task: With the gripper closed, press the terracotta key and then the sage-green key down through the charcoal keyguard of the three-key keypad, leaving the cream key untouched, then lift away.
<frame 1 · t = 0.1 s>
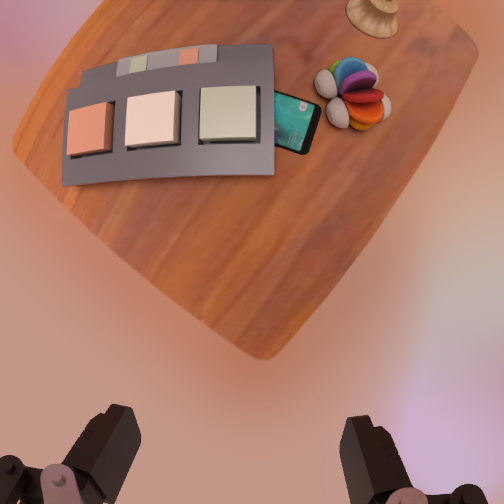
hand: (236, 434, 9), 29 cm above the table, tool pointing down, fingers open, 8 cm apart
keypad: (164, 126, 34), on the table
smartphone: (258, 113, 34), on the table
key terracotta: (90, 129, 31), point 4 cm above the table, slide at 0.0 cm
rainbow petal flower toy: (348, 98, 33), on the table
hand bell: (371, 17, 29), on the table
key cream: (152, 119, 30), point 4 cm above the table, slide at 0.0 cm
key sage: (228, 113, 30), point 4 cm above the table, slide at 0.0 cm
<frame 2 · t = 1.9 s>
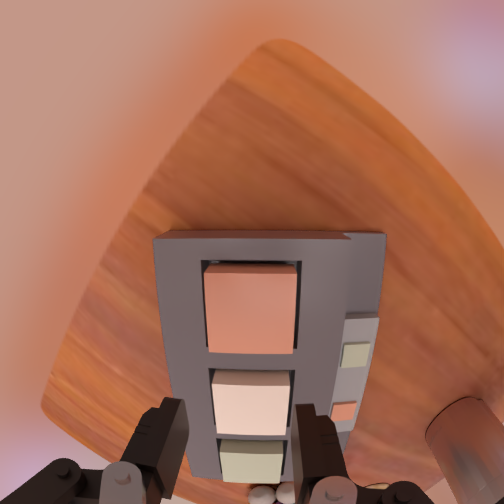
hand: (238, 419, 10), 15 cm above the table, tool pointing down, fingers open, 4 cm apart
keypad: (253, 375, 27), on the table
key terracotta: (251, 308, 21), point 4 cm above the table, slide at 0.0 cm
rainbow petal flower toy: (280, 490, 32), on the table
hand bell: (367, 494, 32), on the table
key cream: (251, 402, 23), point 4 cm above the table, slide at 0.0 cm
key sage: (251, 460, 25), point 4 cm above the table, slide at 0.0 cm
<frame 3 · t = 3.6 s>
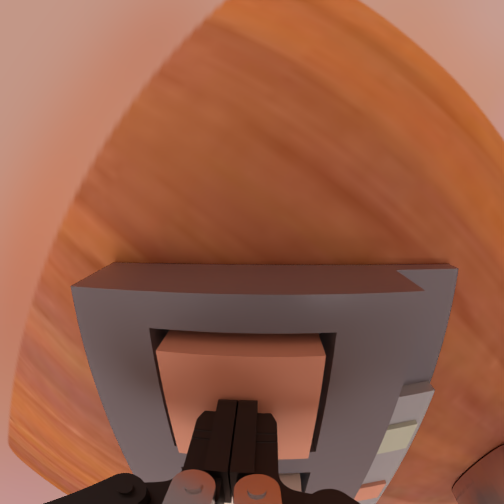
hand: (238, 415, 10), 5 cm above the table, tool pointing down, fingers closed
keypad: (249, 456, 17), on the table
key terracotta: (243, 397, 11), point 4 cm above the table, slide at 0.7 cm, touching gripper
key cream: (245, 502, 13), point 4 cm above the table, slide at 0.0 cm
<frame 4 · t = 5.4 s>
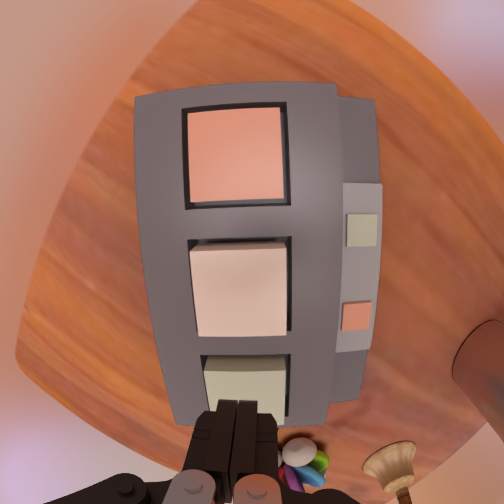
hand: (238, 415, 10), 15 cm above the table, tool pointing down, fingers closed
keypad: (244, 271, 24), on the table
key terracotta: (236, 155, 19), point 3 cm above the table, slide at 1.2 cm
rainbow petal flower toy: (288, 454, 30), on the table
hand bell: (389, 457, 30), on the table
key cream: (240, 289, 20), point 4 cm above the table, slide at 0.0 cm
key sage: (246, 391, 22), point 4 cm above the table, slide at 0.0 cm
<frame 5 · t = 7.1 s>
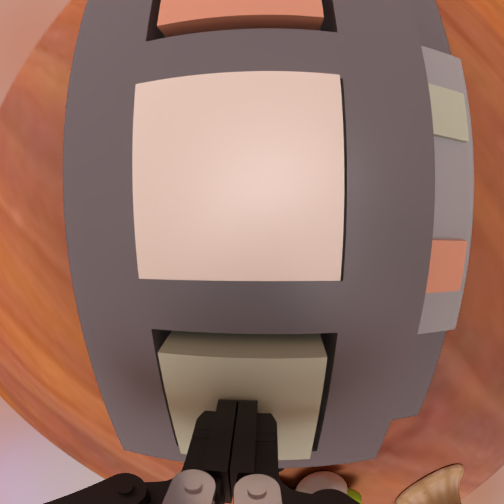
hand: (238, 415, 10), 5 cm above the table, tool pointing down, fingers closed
keypad: (247, 179, 13), on the table
rainbow petal flower toy: (301, 490, 18), on the table
hand bell: (429, 485, 19), on the table
key cream: (238, 175, 9), point 4 cm above the table, slide at 0.0 cm
key sage: (244, 398, 11), point 4 cm above the table, slide at 0.6 cm, touching gripper
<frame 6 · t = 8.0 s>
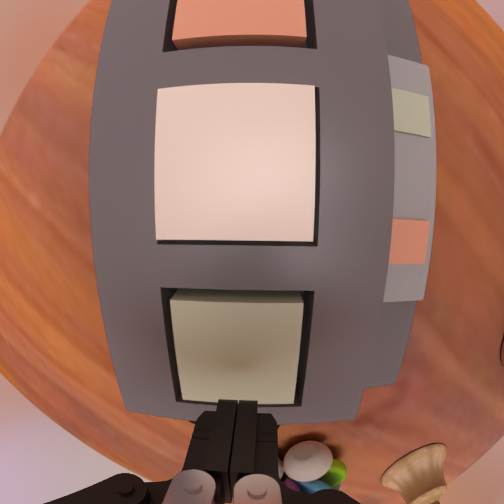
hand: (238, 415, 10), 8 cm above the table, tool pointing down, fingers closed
keypad: (241, 167, 16), on the table
key terracotta: (241, 2, 11), point 3 cm above the table, slide at 1.2 cm
rainbow petal flower toy: (289, 462, 21), on the table
hand bell: (413, 465, 22), on the table
key cream: (235, 161, 11), point 4 cm above the table, slide at 0.0 cm
key sage: (238, 346, 15), point 3 cm above the table, slide at 1.2 cm
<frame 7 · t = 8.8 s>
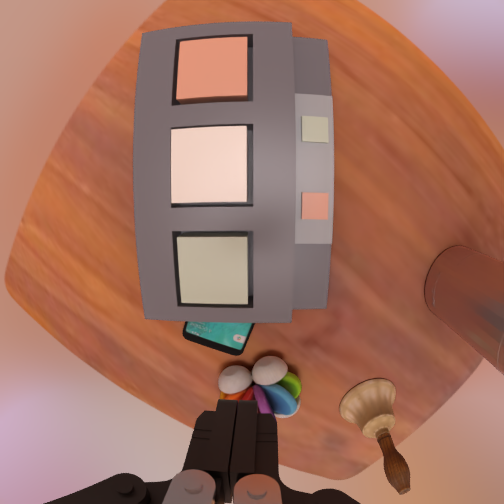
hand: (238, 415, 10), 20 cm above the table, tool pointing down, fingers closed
keypad: (217, 167, 27), on the table
smartphone: (232, 286, 31), on the table
key terracotta: (213, 70, 22), point 3 cm above the table, slide at 1.2 cm
rainbow petal flower toy: (259, 381, 33), on the table
hand bell: (367, 400, 34), on the table
key cream: (210, 165, 23), point 4 cm above the table, slide at 0.0 cm
key sage: (214, 267, 26), point 3 cm above the table, slide at 1.2 cm
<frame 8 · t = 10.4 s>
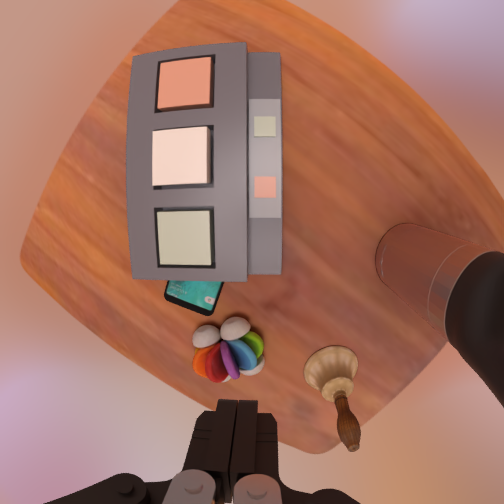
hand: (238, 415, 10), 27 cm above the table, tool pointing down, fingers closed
keypad: (191, 160, 34), on the table
smartphone: (203, 255, 37), on the table
key terracotta: (186, 85, 29), point 3 cm above the table, slide at 1.2 cm
rainbow petal flower toy: (230, 342, 40), on the table
hand bell: (330, 367, 40), on the table
key cream: (181, 157, 30), point 4 cm above the table, slide at 0.0 cm
key sage: (186, 236, 33), point 3 cm above the table, slide at 1.2 cm
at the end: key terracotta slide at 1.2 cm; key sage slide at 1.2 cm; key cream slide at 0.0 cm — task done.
